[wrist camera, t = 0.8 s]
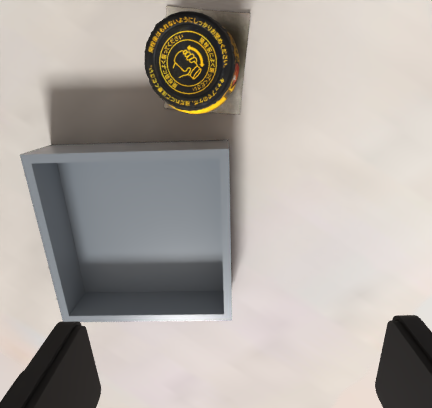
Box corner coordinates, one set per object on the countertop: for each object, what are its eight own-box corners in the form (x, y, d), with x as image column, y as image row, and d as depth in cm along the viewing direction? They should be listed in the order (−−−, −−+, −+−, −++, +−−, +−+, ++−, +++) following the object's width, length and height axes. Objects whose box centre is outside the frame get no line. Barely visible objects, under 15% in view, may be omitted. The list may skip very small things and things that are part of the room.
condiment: (164, 108, 29) (128, 118, 18) (166, 6, 26) (125, -56, 15) (239, 114, 30) (249, 129, 18) (250, 14, 27) (270, -42, 15)
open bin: (50, 144, 31) (19, 154, 26) (228, 139, 30) (229, 148, 26) (83, 292, 37) (63, 322, 32) (230, 291, 37) (232, 320, 32)
